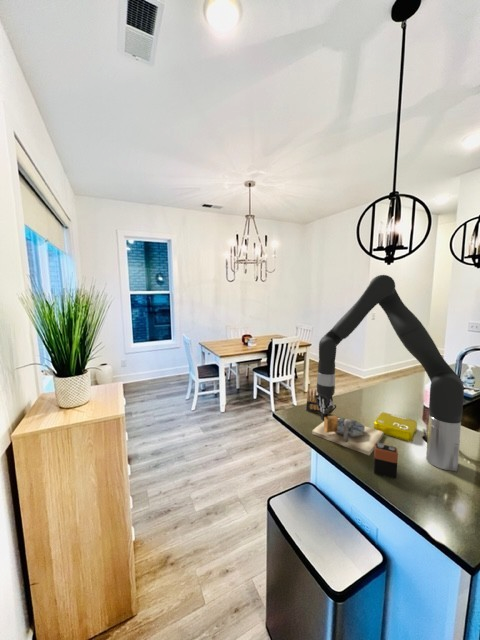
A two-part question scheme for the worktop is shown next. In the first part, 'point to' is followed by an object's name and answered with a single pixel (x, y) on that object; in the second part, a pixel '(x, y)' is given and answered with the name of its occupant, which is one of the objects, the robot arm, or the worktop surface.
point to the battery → (385, 460)
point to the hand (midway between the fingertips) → (324, 420)
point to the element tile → (396, 426)
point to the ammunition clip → (312, 402)
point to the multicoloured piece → (342, 426)
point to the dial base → (351, 437)
